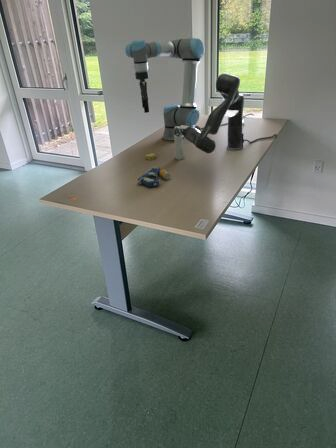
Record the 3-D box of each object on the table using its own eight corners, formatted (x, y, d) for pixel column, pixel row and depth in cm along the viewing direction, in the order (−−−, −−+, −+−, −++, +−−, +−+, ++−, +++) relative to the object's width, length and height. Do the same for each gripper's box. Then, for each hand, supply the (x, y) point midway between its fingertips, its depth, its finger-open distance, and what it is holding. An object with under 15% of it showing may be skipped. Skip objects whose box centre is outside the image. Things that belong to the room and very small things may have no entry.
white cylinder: (181, 159, 209) (179, 128, 198) (174, 158, 211) (172, 127, 201) (184, 157, 212) (183, 126, 202) (178, 156, 214) (176, 125, 204)
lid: (150, 156, 219) (150, 152, 217) (156, 157, 215) (156, 154, 214) (145, 158, 215) (144, 155, 214) (151, 160, 212) (150, 156, 211)
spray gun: (175, 173, 189) (152, 171, 196) (175, 166, 187) (151, 164, 193) (159, 190, 174) (134, 186, 180) (158, 182, 172) (133, 179, 178)
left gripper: (133, 69, 199) (138, 106, 210) (136, 74, 178) (141, 115, 189) (146, 68, 200) (150, 105, 211) (150, 73, 178) (154, 113, 189)
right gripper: (205, 126, 178) (194, 119, 191) (180, 130, 175) (170, 123, 188) (205, 139, 182) (194, 132, 195) (181, 144, 179) (171, 136, 192)
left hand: (145, 109), depth 200 cm, fingers open, 13 cm apart
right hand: (183, 127), depth 192 cm, fingers open, 8 cm apart
